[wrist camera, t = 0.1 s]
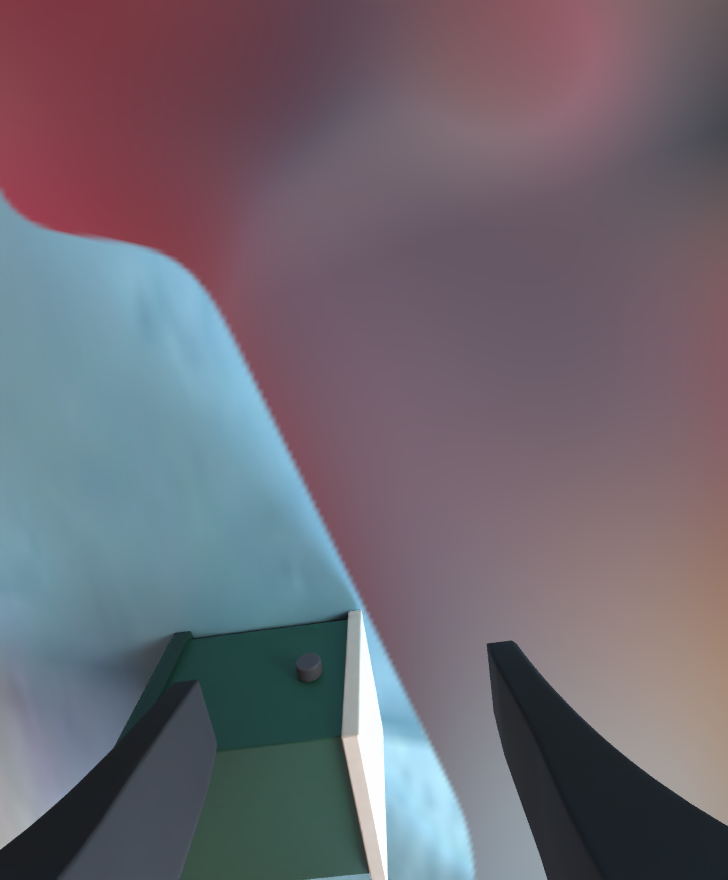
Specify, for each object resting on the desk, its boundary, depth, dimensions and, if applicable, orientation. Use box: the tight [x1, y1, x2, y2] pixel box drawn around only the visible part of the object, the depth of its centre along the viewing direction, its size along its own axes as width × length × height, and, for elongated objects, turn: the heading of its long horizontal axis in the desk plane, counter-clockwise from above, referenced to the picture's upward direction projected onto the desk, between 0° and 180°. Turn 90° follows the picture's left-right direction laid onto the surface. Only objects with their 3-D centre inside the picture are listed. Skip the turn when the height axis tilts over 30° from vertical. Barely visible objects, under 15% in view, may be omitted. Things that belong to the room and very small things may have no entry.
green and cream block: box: [114, 610, 388, 880], centre depth 22 cm, size 9×8×7 cm
